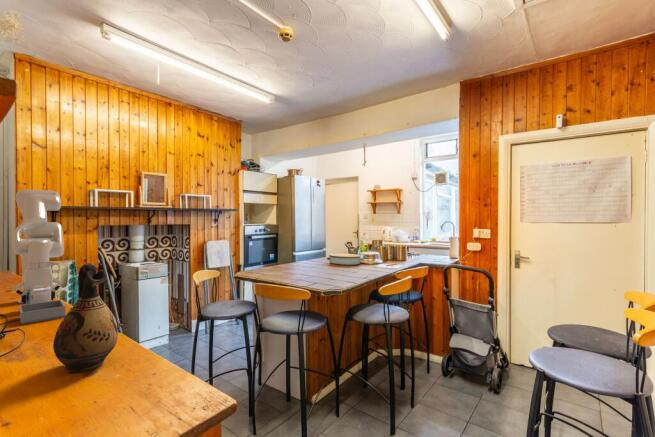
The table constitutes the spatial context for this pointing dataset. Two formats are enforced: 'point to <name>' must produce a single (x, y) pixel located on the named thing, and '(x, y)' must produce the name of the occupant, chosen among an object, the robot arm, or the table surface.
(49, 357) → the table surface
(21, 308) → the tray
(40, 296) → the light bulb box
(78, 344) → the ceramic jug
